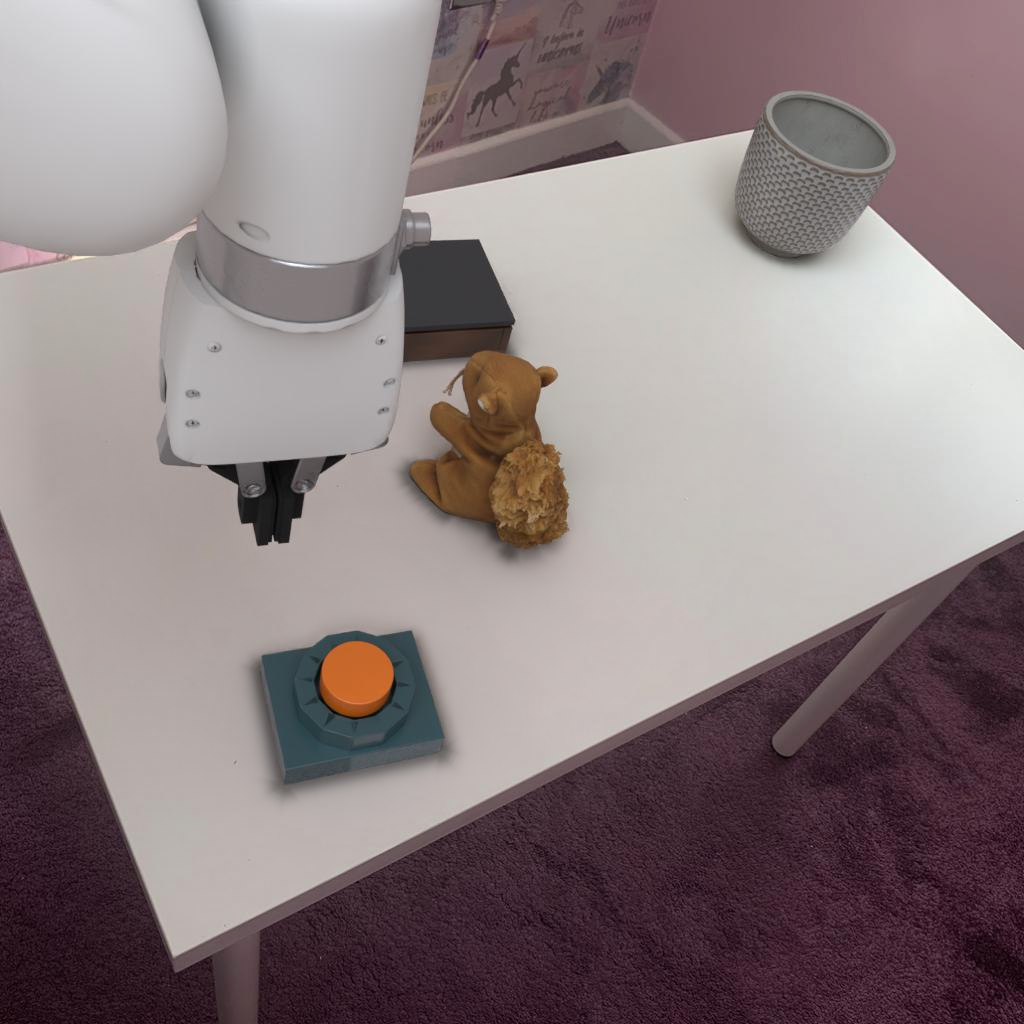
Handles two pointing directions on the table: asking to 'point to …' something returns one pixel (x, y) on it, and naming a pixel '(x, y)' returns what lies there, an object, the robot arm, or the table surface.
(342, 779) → the table surface
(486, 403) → the stuffed squirrel
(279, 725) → the dark teal square block
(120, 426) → the table surface
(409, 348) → the wooden box
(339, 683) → the button
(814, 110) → the planter
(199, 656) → the table surface
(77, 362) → the table surface
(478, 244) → the lid
